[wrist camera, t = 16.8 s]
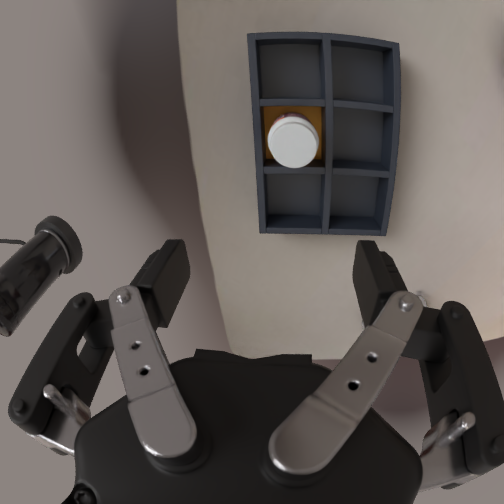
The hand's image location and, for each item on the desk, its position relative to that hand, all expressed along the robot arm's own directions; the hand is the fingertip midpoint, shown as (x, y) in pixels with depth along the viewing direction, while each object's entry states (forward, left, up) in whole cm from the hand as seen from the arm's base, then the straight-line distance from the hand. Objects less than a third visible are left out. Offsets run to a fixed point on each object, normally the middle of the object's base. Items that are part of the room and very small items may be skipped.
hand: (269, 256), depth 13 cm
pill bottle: (+1, +2, -22) cm, 22 cm away
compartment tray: (+5, +2, -22) cm, 23 cm away
